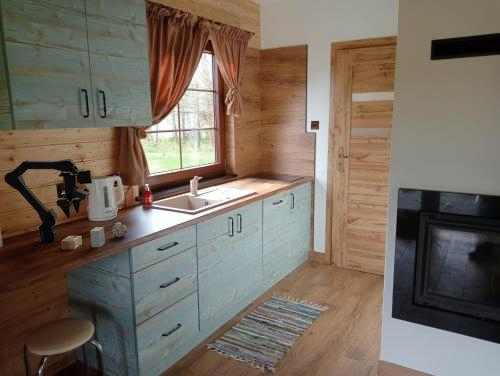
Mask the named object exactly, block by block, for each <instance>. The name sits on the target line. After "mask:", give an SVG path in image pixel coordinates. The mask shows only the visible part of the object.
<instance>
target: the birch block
mask: <svg viewBox="0 0 500 376" xmlns="http://www.w3.org/2000/svg"><path fill="white" fill-rule="evenodd" d="M60 244H61V250H75V249H77V248H79V247H80V246H81V245H82V244H83V237H82V235H69V236H67V237H65V238H64V239H62V240H61V243H60Z"/></svg>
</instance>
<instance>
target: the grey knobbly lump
mask: <svg viewBox="0 0 500 376" xmlns="http://www.w3.org/2000/svg"><path fill="white" fill-rule="evenodd" d="M128 227H129V226H128V225H126V224H124V222H121V220H118V222H115V223H114V222H113V223H112V226H111V231H110V234H113V235H114V237H117V238H118V240H119V239H120V238H121V237H123V236H124V237H125V236H126V234H127V233H128V231H127V229H128Z"/></svg>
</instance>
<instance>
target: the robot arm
mask: <svg viewBox="0 0 500 376" xmlns="http://www.w3.org/2000/svg"><path fill="white" fill-rule="evenodd" d="M27 170H55V171H58V172H60V174H59V175H58V176H57V177H59V178H60V177H61V178H62V181H63V187H62V191H64V195H63V197H61V198H59V199H57V200H56V202H55V203H56V206H57V207H59V208H60V209H61V211H62V212H63V213H64V215H65V216H66V218H67V219H71V208H72V206H73V208H74V211H75V213H76V214H78V213H80V209H81V204H82V202H83V201H86V200H88V199H89V196H90V195H91V193H90V190H89V188H88V187H85V188H84V189H80V187H79V185H88V184H89V185H91V184H93V175H92V172H91V171H92V170H90V169H87V170H86V169H85V170H80V169H79V168H78V167H77V165H76V162H75V161H74V160H73V159H71V158H67V159H65V158H64V159H60V160H55V161H54V160H51V161H49V160H47V161H46V160H24V161H22V162H20V164H18V166H17V167H16V168H15V169H13V170H11V171H9V172H7V173H6V174H5V175H4V179H3V180H4V182H5V183H6V184H7V185H8V186H9V187H11V188H13V189H14V190H16V191H18V192H19V194H20V195H22V197H23V198H24V199H25V200H26V202H28V204H29V205H30V206H31V207H32V208H33V209H34V211H35V212H36V213H37V215H38V216H39V219H40V221H41V224H40V225H39V226H38V231H39V237H40V240H39V241H38V243H53V242H54V241H57V240H58V237H57V230H56V228H55V227H54V226H55V225H56V223H57V222H58V220H59V216H58V213H57V212H56V211H55V209H54V208H52V207H50V209H49V208H48V207H46V205H45V204H43V203H42V201H40V199H39V198H38V197H37V196H36V195H35V193H34V192H33V191H32V189H30V187H28V185H27V184H26V182H25V178H24V177H23V175H24V174H25V173H26V172H27ZM78 184H79V185H78Z"/></svg>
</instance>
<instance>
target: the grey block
mask: <svg viewBox="0 0 500 376" xmlns="http://www.w3.org/2000/svg"><path fill="white" fill-rule="evenodd" d="M105 237H106V236H105V227H104V226H103V227H102V226H100V227H98V226H97V227H96V226H95V227H94V228H93V229H91V230H90V240H91V242H90V243H91V248H101V247H102V246H103V245H104V244H106V238H105ZM100 246H101V247H100Z"/></svg>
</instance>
